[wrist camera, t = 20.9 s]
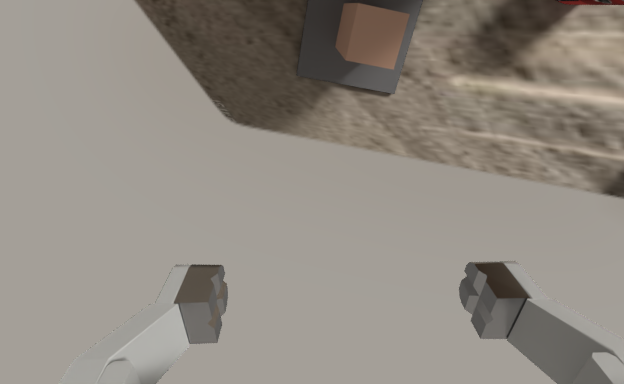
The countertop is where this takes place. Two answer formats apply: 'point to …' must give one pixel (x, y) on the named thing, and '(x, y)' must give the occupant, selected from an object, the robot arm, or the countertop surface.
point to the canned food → (592, 2)
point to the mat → (327, 59)
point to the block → (370, 34)
